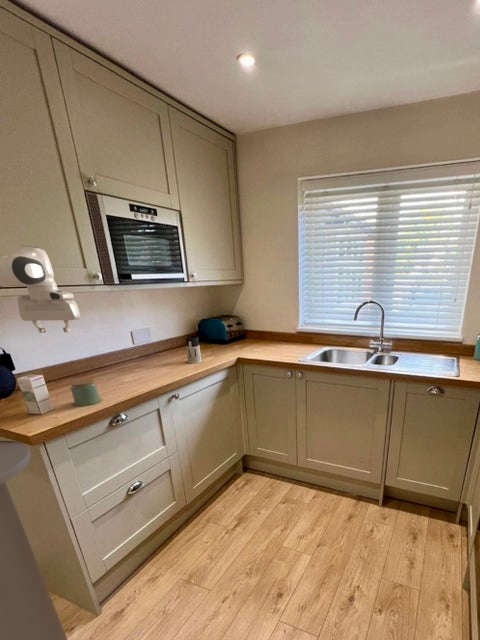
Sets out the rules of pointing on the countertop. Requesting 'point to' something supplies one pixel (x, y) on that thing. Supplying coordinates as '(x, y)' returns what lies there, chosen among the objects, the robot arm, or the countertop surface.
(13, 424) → the countertop surface
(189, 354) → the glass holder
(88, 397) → the green lidded jar
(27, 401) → the syrup box
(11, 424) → the countertop surface
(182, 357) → the countertop surface
